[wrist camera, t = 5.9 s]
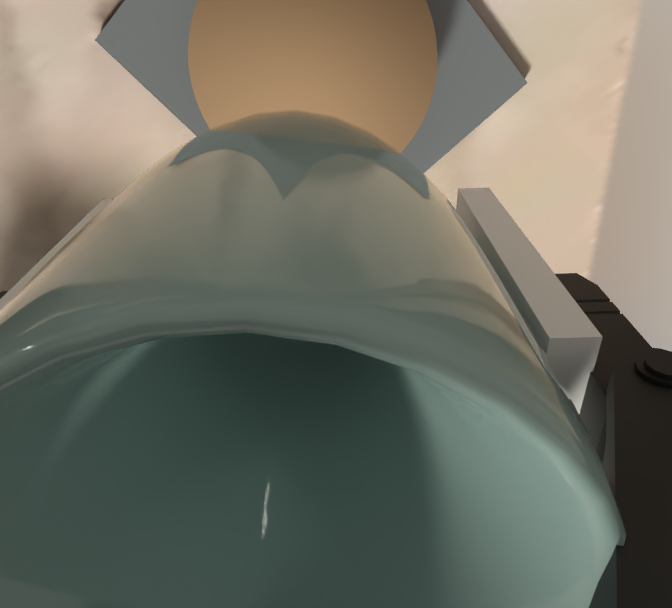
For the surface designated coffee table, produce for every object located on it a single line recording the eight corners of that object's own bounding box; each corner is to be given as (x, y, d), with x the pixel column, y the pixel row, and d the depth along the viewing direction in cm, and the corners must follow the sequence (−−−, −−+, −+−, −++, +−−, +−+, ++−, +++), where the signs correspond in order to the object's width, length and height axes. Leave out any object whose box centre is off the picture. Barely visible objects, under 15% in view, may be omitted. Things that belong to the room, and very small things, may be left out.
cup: (304, -4, 12) (232, 53, 3) (508, 246, 15) (766, 634, 6) (85, 228, 14) (-292, 616, 6) (296, 400, 17) (263, 825, 9)
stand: (99, 38, 27) (68, 46, 24) (299, -227, 22) (293, -261, 19) (326, 253, 33) (325, 281, 30) (523, 80, 28) (547, 93, 25)
